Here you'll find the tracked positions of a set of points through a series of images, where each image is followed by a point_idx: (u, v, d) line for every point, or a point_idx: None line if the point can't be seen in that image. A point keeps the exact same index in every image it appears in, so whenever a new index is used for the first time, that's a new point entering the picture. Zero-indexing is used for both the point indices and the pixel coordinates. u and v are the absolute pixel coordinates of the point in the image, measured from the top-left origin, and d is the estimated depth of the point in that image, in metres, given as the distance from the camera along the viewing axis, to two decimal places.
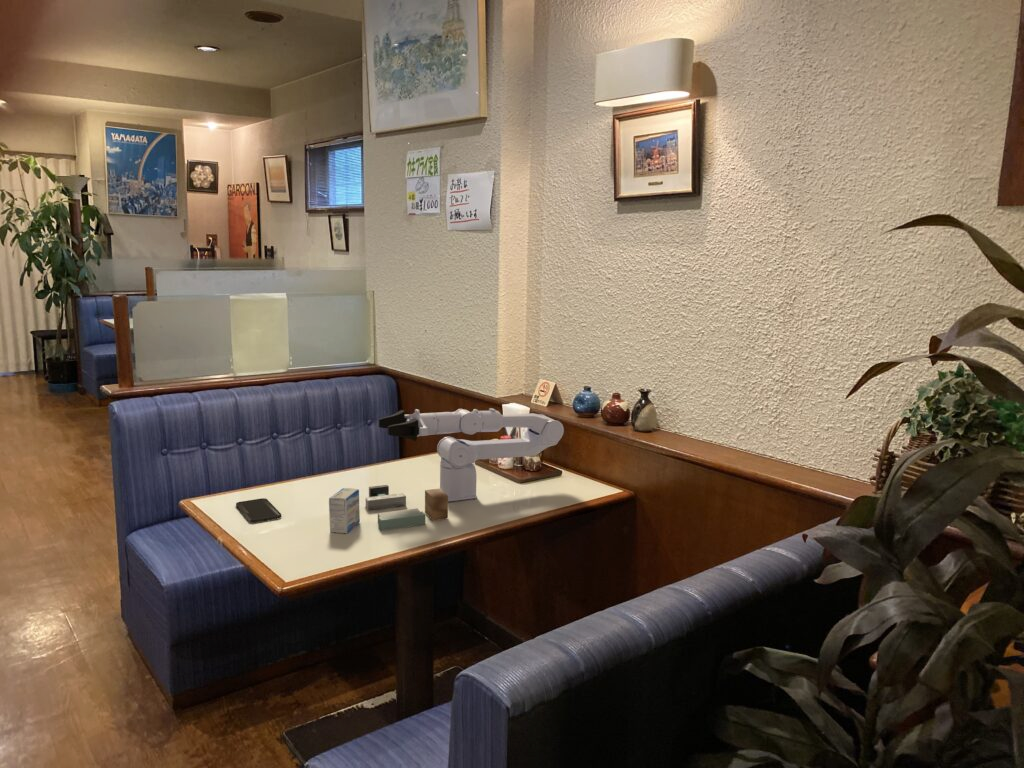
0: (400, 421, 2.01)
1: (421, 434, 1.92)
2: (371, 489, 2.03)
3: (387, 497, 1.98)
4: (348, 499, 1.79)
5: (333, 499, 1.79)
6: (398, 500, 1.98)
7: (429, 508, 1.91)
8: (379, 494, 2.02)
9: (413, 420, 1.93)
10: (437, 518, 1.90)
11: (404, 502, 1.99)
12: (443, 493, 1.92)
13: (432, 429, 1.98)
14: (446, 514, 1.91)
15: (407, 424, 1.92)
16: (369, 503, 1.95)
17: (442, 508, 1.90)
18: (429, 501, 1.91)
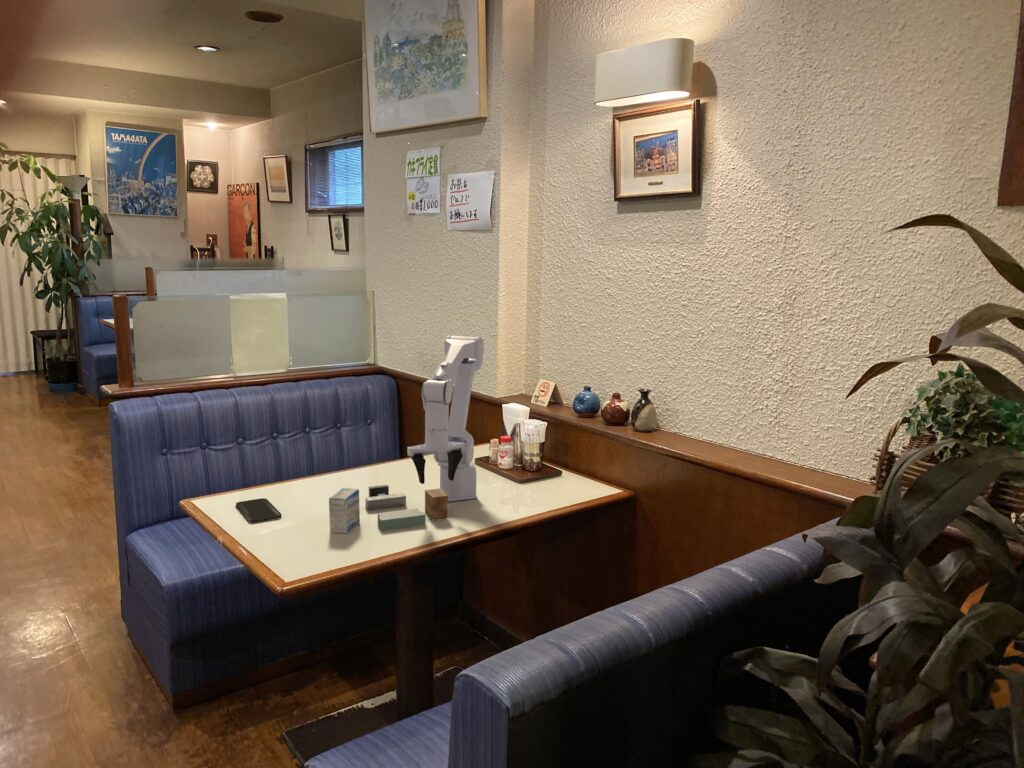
0: None
1: None
2: (371, 489, 2.03)
3: (387, 497, 1.98)
4: (348, 499, 1.79)
5: (333, 499, 1.79)
6: (398, 500, 1.98)
7: (429, 508, 1.91)
8: (379, 494, 2.02)
9: (458, 457, 1.90)
10: (437, 518, 1.90)
11: (404, 502, 1.99)
12: (443, 493, 1.92)
13: None
14: (446, 514, 1.91)
15: None
16: (369, 503, 1.95)
17: (442, 508, 1.90)
18: (429, 501, 1.91)
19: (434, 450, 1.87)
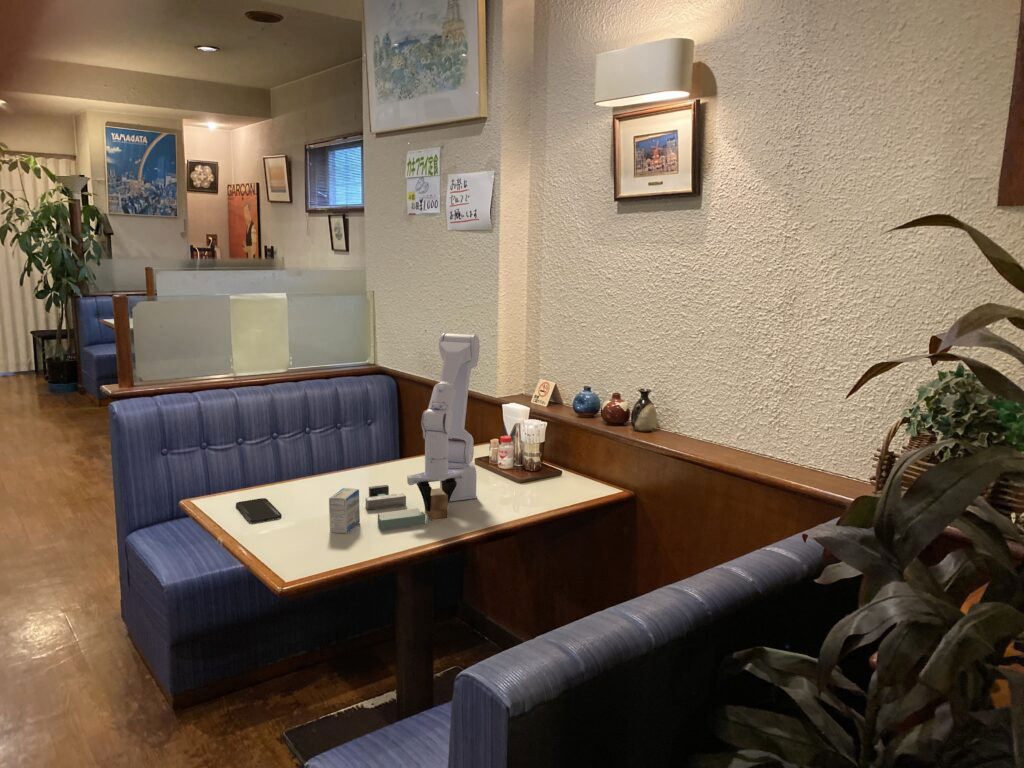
0: None
1: None
2: (371, 489, 2.03)
3: (387, 497, 1.98)
4: (348, 499, 1.79)
5: (333, 499, 1.79)
6: (398, 500, 1.98)
7: None
8: (379, 494, 2.02)
9: (452, 486, 1.91)
10: (437, 518, 1.90)
11: (404, 502, 1.99)
12: (443, 492, 1.92)
13: None
14: (446, 514, 1.91)
15: None
16: (369, 503, 1.95)
17: (442, 508, 1.90)
18: None
19: (434, 479, 1.88)
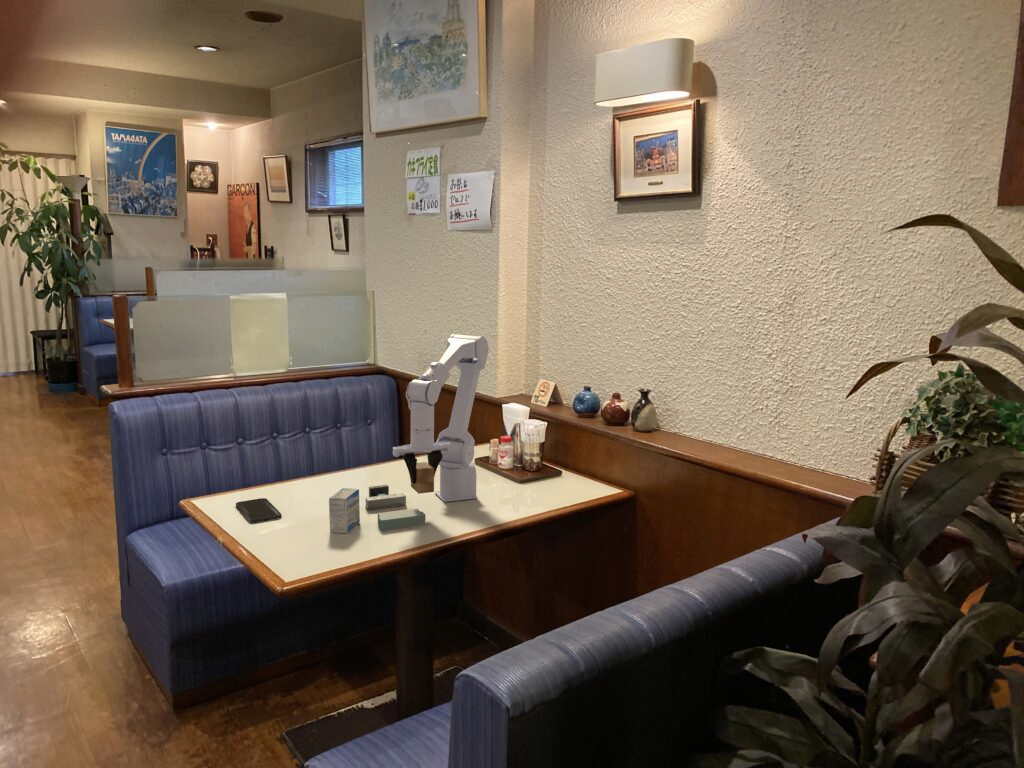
0: None
1: None
2: (371, 489, 2.03)
3: (387, 497, 1.98)
4: (348, 499, 1.79)
5: (333, 499, 1.79)
6: (398, 500, 1.98)
7: None
8: (379, 494, 2.02)
9: (438, 458, 1.89)
10: (423, 491, 1.88)
11: (404, 502, 1.99)
12: (429, 466, 1.90)
13: None
14: (432, 487, 1.89)
15: None
16: (369, 503, 1.95)
17: (428, 481, 1.88)
18: None
19: (419, 450, 1.87)
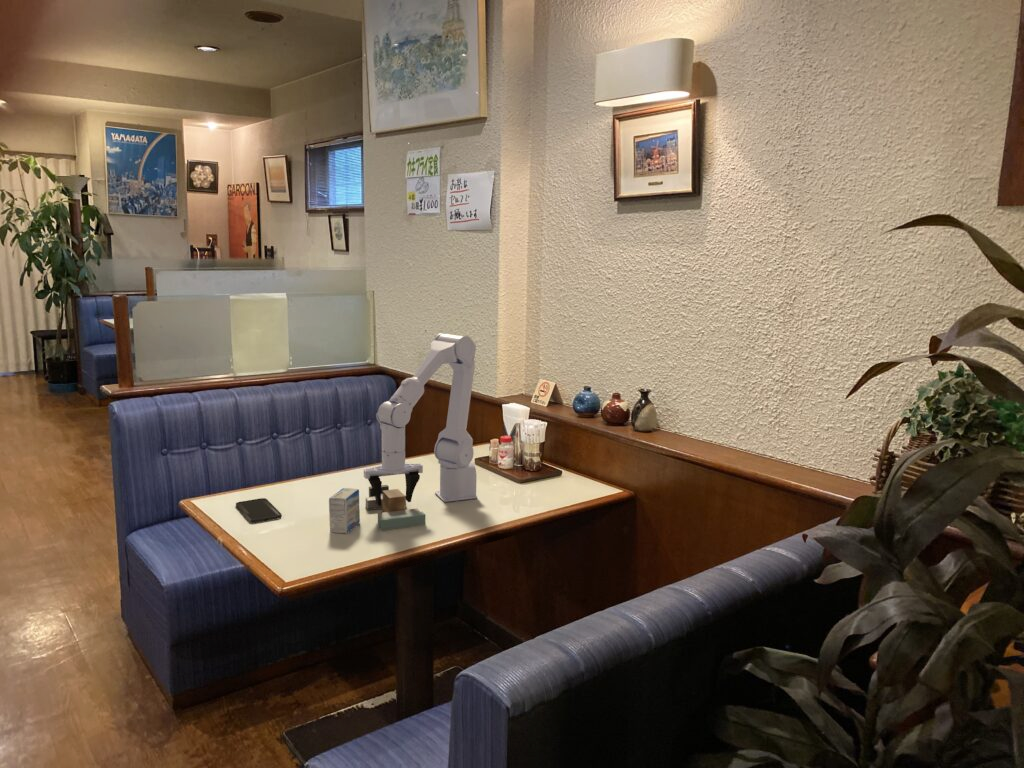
0: None
1: None
2: (371, 489, 2.03)
3: None
4: (348, 499, 1.79)
5: (333, 499, 1.79)
6: None
7: (386, 509, 1.90)
8: None
9: (415, 479, 1.90)
10: None
11: None
12: (400, 493, 1.91)
13: None
14: None
15: (415, 485, 1.91)
16: (369, 503, 1.95)
17: (399, 509, 1.89)
18: (386, 501, 1.90)
19: (390, 472, 1.87)
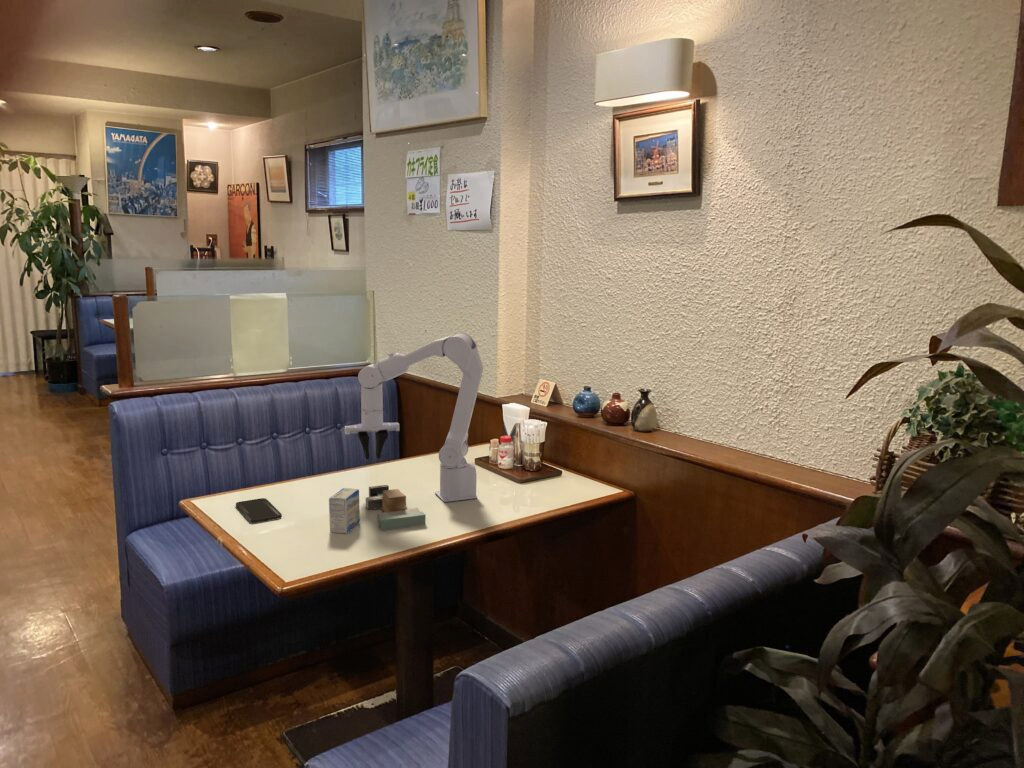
0: None
1: None
2: (371, 489, 2.03)
3: None
4: (348, 499, 1.79)
5: (333, 499, 1.79)
6: None
7: (386, 509, 1.90)
8: (379, 494, 2.02)
9: (384, 437, 2.06)
10: None
11: None
12: (400, 493, 1.91)
13: None
14: None
15: (384, 442, 2.07)
16: (369, 503, 1.95)
17: (399, 508, 1.89)
18: (386, 501, 1.90)
19: (368, 429, 2.04)
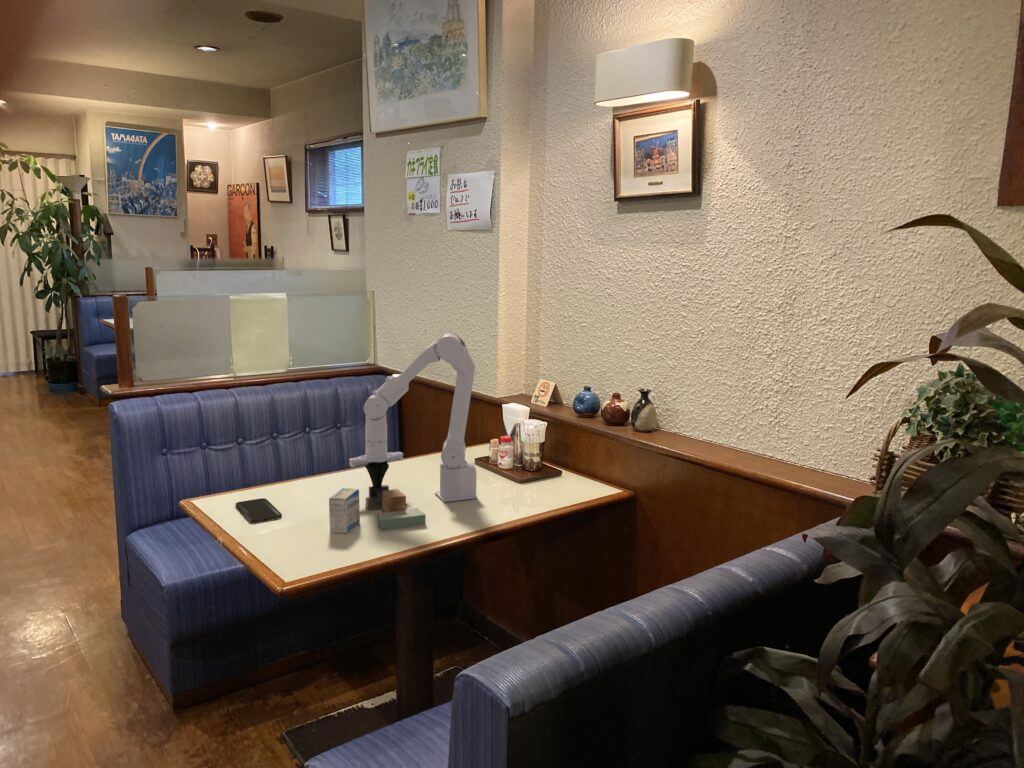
0: None
1: None
2: (371, 489, 2.03)
3: None
4: (348, 499, 1.79)
5: (333, 499, 1.79)
6: None
7: (386, 509, 1.90)
8: (379, 494, 2.02)
9: (385, 468, 2.04)
10: None
11: None
12: (400, 493, 1.91)
13: None
14: None
15: (384, 473, 2.05)
16: (369, 503, 1.95)
17: (399, 508, 1.89)
18: (386, 501, 1.90)
19: (375, 460, 2.02)
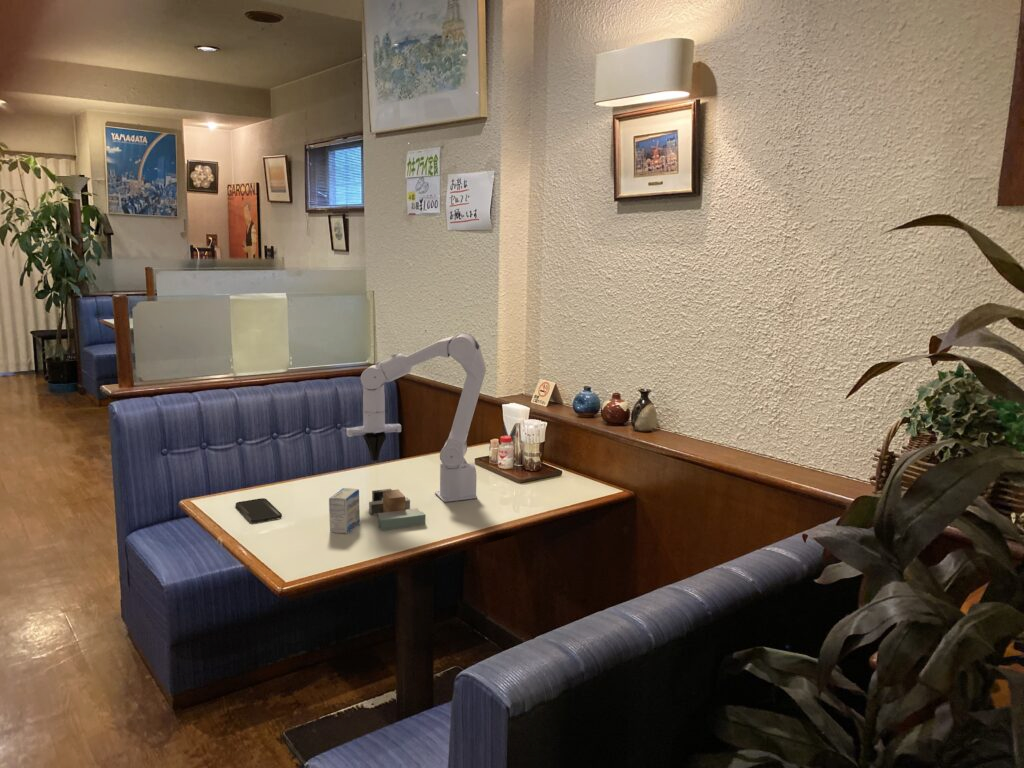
0: None
1: None
2: (374, 493, 2.00)
3: None
4: (348, 499, 1.79)
5: (333, 499, 1.79)
6: None
7: (386, 509, 1.90)
8: None
9: (382, 439, 2.04)
10: None
11: (408, 506, 1.96)
12: (401, 494, 1.91)
13: None
14: None
15: (382, 444, 2.05)
16: (372, 507, 1.92)
17: (399, 509, 1.89)
18: (386, 502, 1.89)
19: (371, 431, 2.02)
